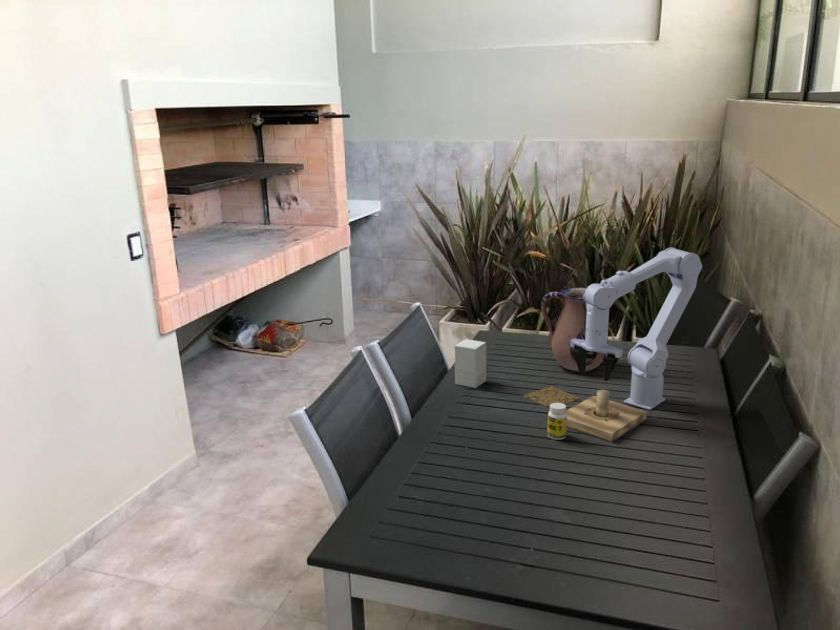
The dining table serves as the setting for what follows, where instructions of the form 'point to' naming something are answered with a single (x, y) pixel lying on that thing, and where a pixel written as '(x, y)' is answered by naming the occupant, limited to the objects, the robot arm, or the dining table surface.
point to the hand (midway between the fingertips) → (594, 376)
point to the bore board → (604, 419)
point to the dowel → (602, 403)
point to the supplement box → (470, 363)
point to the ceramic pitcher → (570, 328)
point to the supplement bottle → (557, 421)
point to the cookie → (551, 396)
